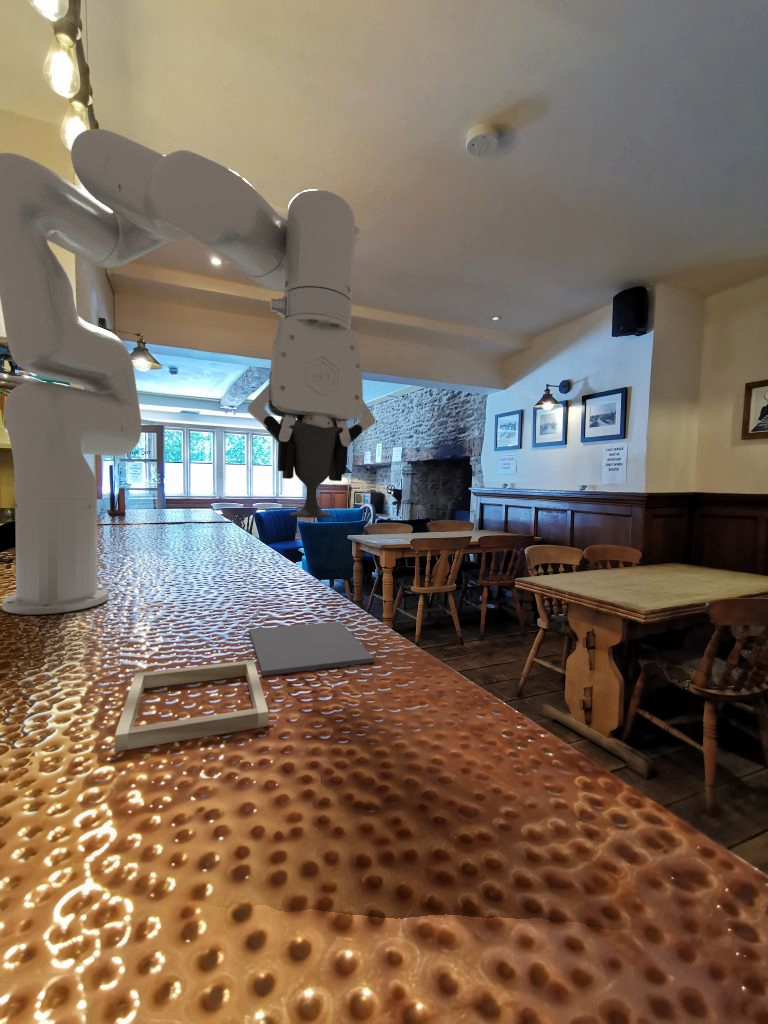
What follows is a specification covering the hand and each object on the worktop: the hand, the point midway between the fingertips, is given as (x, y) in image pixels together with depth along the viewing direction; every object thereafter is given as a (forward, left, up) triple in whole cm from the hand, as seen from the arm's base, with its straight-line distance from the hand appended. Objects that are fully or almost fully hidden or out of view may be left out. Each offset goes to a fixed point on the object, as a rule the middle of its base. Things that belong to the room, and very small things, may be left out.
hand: (311, 478), depth 51 cm
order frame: (+11, -12, -20) cm, 26 cm away
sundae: (0, 0, -5) cm, 5 cm away
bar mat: (0, 0, -20) cm, 20 cm away
